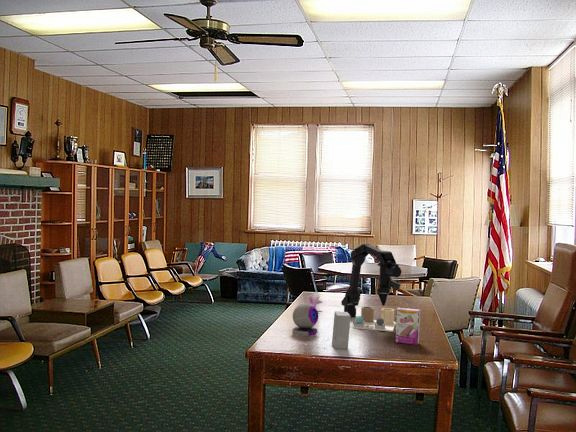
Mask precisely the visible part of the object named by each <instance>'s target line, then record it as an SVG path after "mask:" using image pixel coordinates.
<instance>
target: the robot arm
mask: <svg viewBox="0 0 576 432" xmlns="http://www.w3.org/2000/svg"><path fill="white" fill-rule="evenodd" d="M368 255H371V256H373V257H374V258H375V259H376V260H377V261H378V263H377V266H378V267H379V277H378V280H379V284H378V288H377V290H376V292H377V293H376V294H377V295H378V297H379V300H380V304H381V305H382V306H383V307H385V306H386V303H387V299H388V295H390V293H391V291H392V288H393V289H396V290H397V291H399V290H400V288H401V286H402V283H401V282H400V280H399V279H397V278H399V277H400V276H402V275H401V274H402V269H401V267H399V264H398V263H397V260H396V259H395V257H394V254H393V252H392V251H389V250H381V249H380V248H378V247H375V246H373V245H371V244H369V243H362V244H361V245H360V246H357V247H356V248H354V249H353V250H352V251H351V252H350V261H351V264H352V265H351V274H350V280H349V287H348V289H347V290H346V291H345V294H344V297H343V298H342V300H341V306H343V312H348V314H349V315H350V316H351V318H356V317H357V316H356V315H357V307H356V306H359V303H360V300H361V293H360V291H359V284H360V283H359V282H360V276H361V271H362V265H363V264H364V263H365V261H366V258H367V256H368ZM393 277H394V278H396V279H395V280H393V279H392V278H393Z"/></svg>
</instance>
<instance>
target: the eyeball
mask: <svg viewBox="0 0 576 432" xmlns="http://www.w3.org/2000/svg"><path fill="white" fill-rule="evenodd" d="M292 320H293V323H294V324H295V327H293V328H292V331H291V332H292V334H294V335H296V336H297V335H298V336H304V337H305V336H306V337H307V336H314V335H316V334H317V333H318V328H315V327H314V326H315V325H317V323H318V321H319V312H318V310H317V307H316V308H315V307H314V306H313V305H311V304H308V303H304V302H302V303H300V304H298V305H296V307H295V308H294V310H293V312H292Z"/></svg>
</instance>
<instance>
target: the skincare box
mask: <svg viewBox="0 0 576 432" xmlns="http://www.w3.org/2000/svg"><path fill="white" fill-rule="evenodd" d="M333 317H334V318H333V325H332V327H333V328H332V338H331V345H332V347H333V349H338V350H348V349H349V342H350V341H349V340H350V339H349V337H350V330H351V329H350V328H351V318H352V317H351V316H350V315H349V314H348V312H344V311H334V314H333Z"/></svg>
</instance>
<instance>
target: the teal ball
mask: <svg viewBox="0 0 576 432" xmlns="http://www.w3.org/2000/svg"><path fill="white" fill-rule="evenodd" d="M355 320H356V322H357V323H358V324H361V323H362V322H363V318H362V317H361V315H358V316H355Z"/></svg>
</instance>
